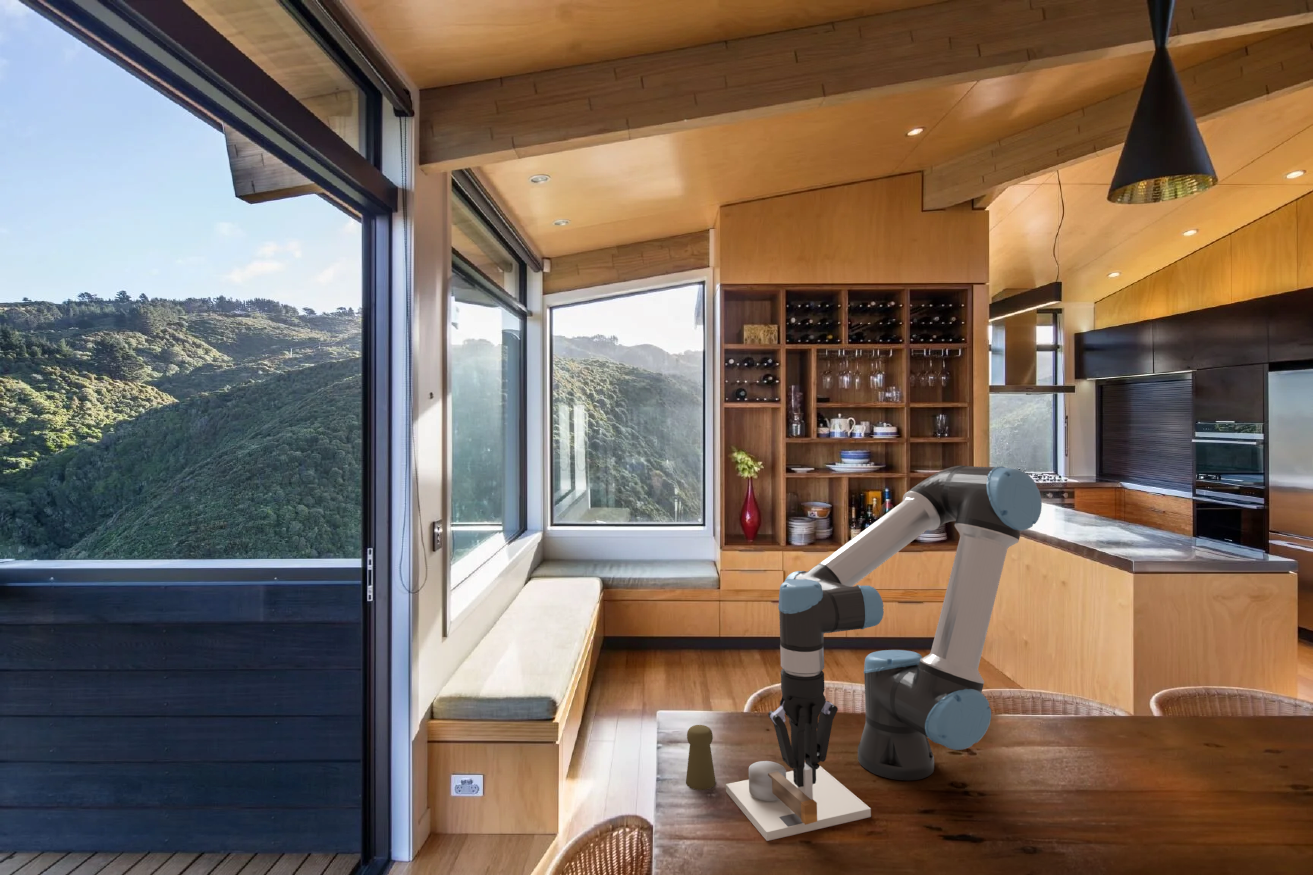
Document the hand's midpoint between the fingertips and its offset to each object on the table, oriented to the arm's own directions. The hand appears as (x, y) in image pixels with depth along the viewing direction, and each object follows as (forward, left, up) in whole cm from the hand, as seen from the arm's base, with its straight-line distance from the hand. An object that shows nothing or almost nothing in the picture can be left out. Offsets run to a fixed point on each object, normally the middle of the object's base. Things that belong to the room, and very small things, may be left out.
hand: (805, 802), depth 118 cm
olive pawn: (+12, -21, -5) cm, 24 cm away
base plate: (-2, -7, -4) cm, 9 cm away
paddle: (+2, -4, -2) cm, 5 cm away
